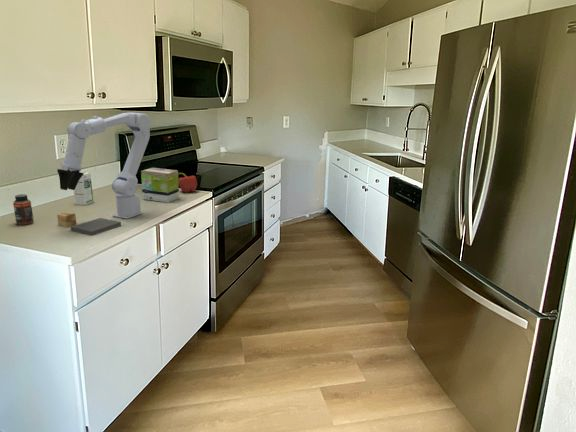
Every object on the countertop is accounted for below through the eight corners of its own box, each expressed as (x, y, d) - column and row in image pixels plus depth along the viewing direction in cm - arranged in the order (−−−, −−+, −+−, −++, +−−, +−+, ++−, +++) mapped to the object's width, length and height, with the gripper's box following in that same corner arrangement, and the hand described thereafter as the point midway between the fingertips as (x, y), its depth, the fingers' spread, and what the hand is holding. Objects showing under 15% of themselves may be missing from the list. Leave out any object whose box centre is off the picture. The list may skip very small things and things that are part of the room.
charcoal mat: (100, 221, 173) (100, 217, 172) (120, 225, 168) (120, 222, 168) (71, 230, 161) (70, 226, 160) (92, 235, 156) (91, 231, 156)
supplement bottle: (37, 221, 170) (33, 193, 167) (28, 225, 164) (24, 197, 161) (21, 220, 170) (17, 193, 167) (12, 225, 164) (8, 196, 161)
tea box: (141, 199, 208) (140, 170, 204) (153, 195, 218) (152, 167, 214) (168, 203, 204) (167, 172, 200) (179, 198, 214) (178, 169, 209)
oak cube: (68, 222, 170) (67, 211, 169) (76, 224, 169) (75, 213, 167) (58, 225, 166) (57, 214, 165) (66, 227, 165) (65, 216, 163)
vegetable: (173, 192, 225) (172, 174, 223) (183, 188, 235) (183, 170, 232) (191, 194, 222) (190, 175, 219) (201, 190, 232) (200, 172, 229)
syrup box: (85, 205, 195) (82, 174, 191) (74, 204, 196) (71, 173, 192) (93, 202, 201) (90, 172, 197) (82, 201, 202) (79, 171, 198)
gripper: (70, 153, 166) (64, 187, 166) (55, 150, 151) (48, 187, 152) (89, 157, 167) (82, 191, 167) (75, 154, 152) (68, 191, 153)
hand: (67, 189), depth 160 cm, fingers open, 7 cm apart
